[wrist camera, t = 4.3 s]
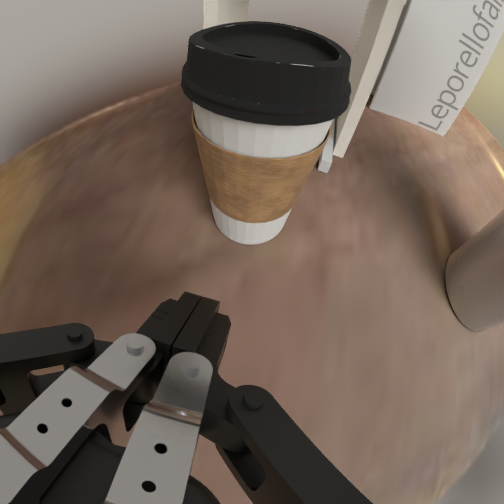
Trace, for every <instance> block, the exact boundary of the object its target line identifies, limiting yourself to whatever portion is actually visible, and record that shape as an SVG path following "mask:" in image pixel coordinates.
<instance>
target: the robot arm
mask: <svg viewBox="0 0 504 504" xmlns="http://www.w3.org/2000/svg"><path fill="white" fill-rule="evenodd" d="M445 281H446V289H447V293H448V297H449V300H450V303H451V306H452V308H453V310H454V312H455V314H456V316H457V317H458V318H459V320H460V321H461V323H462V324H463V325H465V326H466V327H467V328H468V329H470V330H472V331H476V332H480V331H484V330H486V329H489V328H492V327H494V326H497V325H499V324H502V323H504V210H503V211H502V212H501V213H499V214H498V215H497V216H496V217H495V218H494V219H493V220H492V221H490V222H489V223H488V224H487V225H486V226H485V227H483V228H482V229H481V230H480V231H479V232H477V233H476V234H475V235H474V236H473V237H471V238H470V239H469V240H468V241H466V242H465V243H464V244H463V245H461V246H460V247H459V248H457V249H456V250H455V251H454V252H452V254H451V255H450V256H449V259H448V261H447V265H446V270H445ZM219 304H220V301H217V300H213V299H210V298H206V297H202V296H199V295H196V294H192V293H189V292H184V293H183V295H182V296H181V297H180V299H179V300H178V301H176V300H173V299H169V300H167V301H165V302H162V303H161V304H160V305H159V306H158V307H157V309H156V310H155V311H154V312H153V313H152V314H151V316H150V317H149V318H148V319H147V320H146V321H145V323H144V324H143V325H142V326H141V327H140V329H139V330H138V331H137V332H136V333H131V334H125V335H123V336H121V337H119V338H118V339H117V340H116V341H115V342H114V343H113V342H106V341H100V340H95V339H94V334H93V331H92V330H91V329H90V328H89V327H88V326H86V325H83V324H80V323H70V324H64V325H58V326H52V327H46V328H40V329H34V330H27V331H20V332H13V333H6V334H0V504H220V503H219V501H218V500H217V498H216V497H215V496H214V495H213V493H212V492H211V491H210V490H209V489H208V488H207V487H206V486H204V485H203V484H202V483H201V482H200V481H198V480H197V479H195V478H194V477H192V476H190V474H191V469H192V464H193V460H194V455H195V451H196V446H197V442H198V437H199V434H200V435H202V436H204V437H205V438H207V439H209V440H210V441H212V442H214V443H215V445H216V448H217V450H218V452H219V454H220V455H221V457H222V458H223V460H224V462H225V463H226V465H227V466H228V468H229V469H230V471H231V472H232V474H233V475H234V477H235V478H236V480H237V481H238V483H239V484H240V486H241V487H242V489H243V490H244V491H245V493H246V494H247V496H248V497H249V498H250V500H251V501H252V502H253V504H373V503H371V502H370V501H369V500H368V499H367V498H366V497H365V496H364V495H363V494H362V493H361V492H360V491H359V490H358V489H357V488H356V487H355V486H354V485H353V484H352V483H351V482H350V481H349V480H348V479H347V478H346V477H345V476H344V475H343V474H342V473H341V472H340V471H339V470H338V469H337V468H336V467H335V466H334V465H333V464H332V463H331V462H330V461H329V460H328V459H327V458H326V457H325V456H324V455H323V454H322V452H321V451H320V450H319V449H318V448H317V447H316V446H315V445H314V444H313V443H312V442H311V440H310V439H309V438H308V437H307V436H306V435H305V434H304V433H303V432H302V430H301V429H300V428H299V427H298V426H297V425H296V424H295V422H294V421H293V420H292V419H291V418H290V417H289V415H288V414H287V413H286V412H285V411H284V409H283V408H282V407H281V406H280V405H279V403H278V402H277V401H276V400H275V399H274V397H273V396H272V395H271V394H270V393H269V392H268V391H266V390H265V389H263V388H261V387H258V386H254V385H242V386H239V387H237V388H235V387H233V386H231V385H229V384H228V383H226V382H225V381H224V380H223V379H222V378H221V377H220V376H219V374H218V369H219V366H220V363H221V360H222V357H223V354H224V351H225V347H226V343H227V338H228V334H229V330H230V326H231V323H230V320H229V317H228V316H227V315H223V314H219V313H218V310H219ZM58 365H63V367H64V370H65V371H61V372H56V373H51V374H45V375H40V376H35V375H33V374H31V373H30V371H32V370H37V369H42V368H48V367H53V366H58Z"/></svg>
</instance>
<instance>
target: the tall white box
mask: <svg viewBox="0 0 504 504" xmlns="http://www.w3.org/2000/svg"><path fill="white" fill-rule="evenodd" d="M503 31H504V0H407V1H406V4H405V5H404V6H403V9H402V12H401V15H400V18H399V20H398V23H397V26H396V29H395V32H394V34H393V37H392V40H391V43H390V45H389V48H388V51H387V53H386V56H385V58H384V61H383V64H382V66H381V69H380V71H379V74H378V76H377V79H376V81H375V84H374V86H373V89H372V91H371V94H372V95H374V96H373V99H372V101H371V103H370V106H369V109H372V110H375V111H378V112H381V113H384V114H387V115H390V116H393V117H396V118H399V119H402V120H405V121H407V122H410V123H413V124H415V125H418V126H420V127H423V128H425V129H428V130H430V131H433V132H435V133H437V134H440V135H442V136H444V135H445V134H446V132H447V131H448V129H449V128H450V126H451V125H452V123H453V122H454V120H455V119H456V117H457V115H458V114H459V112H460V111H461V109H462V107H463V106H464V104H465V102H466V101H467V99H468V97H469V96H470V94H471V92H472V91H473V89H474V87H475V86H476V84H477V82H478V80H479V78H480V77H481V75H482V73H483V71H484V69H485V67H486V66H487V64H488V62H489V60H490V58H491V56H492V54H493V52H494V50H495V48H496V46H497V44H498V42H499V39H500V37H501V35H502V33H503Z"/></svg>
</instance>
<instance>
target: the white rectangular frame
mask: <svg viewBox="0 0 504 504" xmlns="http://www.w3.org/2000/svg"><path fill="white" fill-rule="evenodd" d="M406 1H407V0H369V3H368V7H367V10H366V14H365V17H364V20H363V24H362V27H361V30H360V33H359V37H358V40H357V43H356V46H355V49H354V53H353V56H352V59H351V68H350V75H349V82H350V84H351V95H350V103H349V105H348V108H347V110H346V111H345V112H344V113H343V114H342V115H341V116H339V117H337V118H335V119H333V121H332V123H331V134H330V137H329V139H328V141H327V143H326V145H325V147H324V149H323V151H322V153H321V155H320V157H319V165H318V171H322V172H325V173H328V171H329V168H330V166H331V164H332V155H335V156H338V157H341V158H343V156H344V154H345V152H346V150H347V147H348V145H349V143H350V141H351V138H352V136H353V134H354V131H355V129H356V127H357V125H358V122H359V120H360V118H361V115H362V113H363V110H364V108H365V106H366V103H367V101H368V98H369V96H370V94H371V91H372V89H373V86H374V84H375V81H376V79H377V76H378V74H379V71H380V69H381V66H382V64H383V61H384V58H385V56H386V53H387V51H388V48H389V45H390V43H391V40H392V37H393V34H394V32H395V29H396V26H397V23H398V20H399V18H400V15H401V12H402V9H403V6H404V5H405V4H406ZM248 6H249V0H204V29H206V28H209V27H213V26H217V25H221V24H227V23H234V22H247V18H248V17H247V16H248Z"/></svg>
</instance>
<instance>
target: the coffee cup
mask: <svg viewBox="0 0 504 504" xmlns="http://www.w3.org/2000/svg"><path fill="white" fill-rule="evenodd" d="M350 68H351V58H350V56H349V55H348V53H347V52H346V51H345V50H344V49H343V48H342V47H341V46H339V45H338V44H337V43H335V42H334V41H332V40H330V39H328V38H326V37H324V36H322V35H319V34H317V33H315V32H312V31H309V30H306V29H303V28H300V27H295V26H291V25H286V24H280V23H272V22H258V21H249V22H234V23H227V24H221V25H217V26H213V27H209V28H206V29H203V30H201V31H199V32H196V33H194V34H193V35H192V36H190V38H189V45H188V55H187V62H186V63H185V65H184V66H183V70H182V83H181V86H182V89H183V91H184V93H185V95H186V96H187V97H188V98H189V99H190V100H191V101H192V103H193V110H192V125H193V129H194V134H195V138H196V143H197V147H198V151H199V156H200V160H201V164H202V169H203V173H204V177H205V181H206V186H207V190H208V193H209V196H210V201H211V206H212V211H213V216H214V219H215V222H216V225H217V227H218V228H219V230H220V231H221V232H222V233H223V234H224V235H225V236H226V237H228V238H229V239H231V240H233V241H235V242H238V243H242V244H250V245H253V244H260V243H264V242H267V241H269V240H271V239H272V238H274V237H275V236H276V235H277V234H278V233H279V232H280V231H281V229H282V228H283V226H284V224H285V221H286V219H287V217H288V215H289V213H290V211H291V209H292V207H293V206H294V204H295V202H296V200H297V199H298V197H299V195H300V193H301V191H302V189H303V187H304V185H305V183H306V181H307V180H308V178H309V176H310V174H311V172H312V170H313V168H314V166H315V164H316V162H317V160H318V158H319V156H320V155H321V153H322V151H323V149H324V147H325V145H326V143H327V141H328V139H329V137H330V134H331V123H332V121H333V119H335V118H337V117H339V116H341V115H342V114H343V113H344V112H345V111H346V110H347V108H348V105H349V103H350V95H351V84H350V82H349V75H350Z"/></svg>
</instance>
